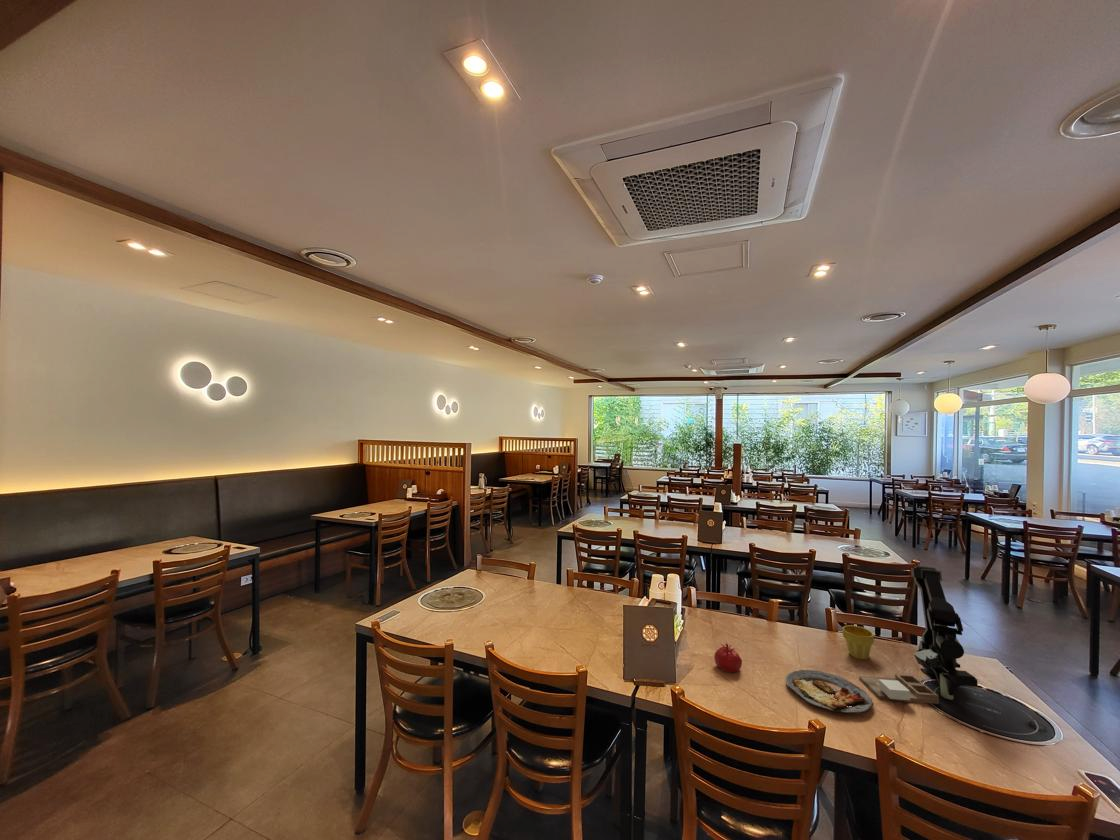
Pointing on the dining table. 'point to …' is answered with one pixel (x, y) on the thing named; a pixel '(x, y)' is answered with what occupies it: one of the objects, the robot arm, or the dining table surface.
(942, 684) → the peg
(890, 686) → the cover
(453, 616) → the dining table surface
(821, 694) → the food plate
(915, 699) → the board
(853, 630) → the plant pot
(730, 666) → the pomegranate
